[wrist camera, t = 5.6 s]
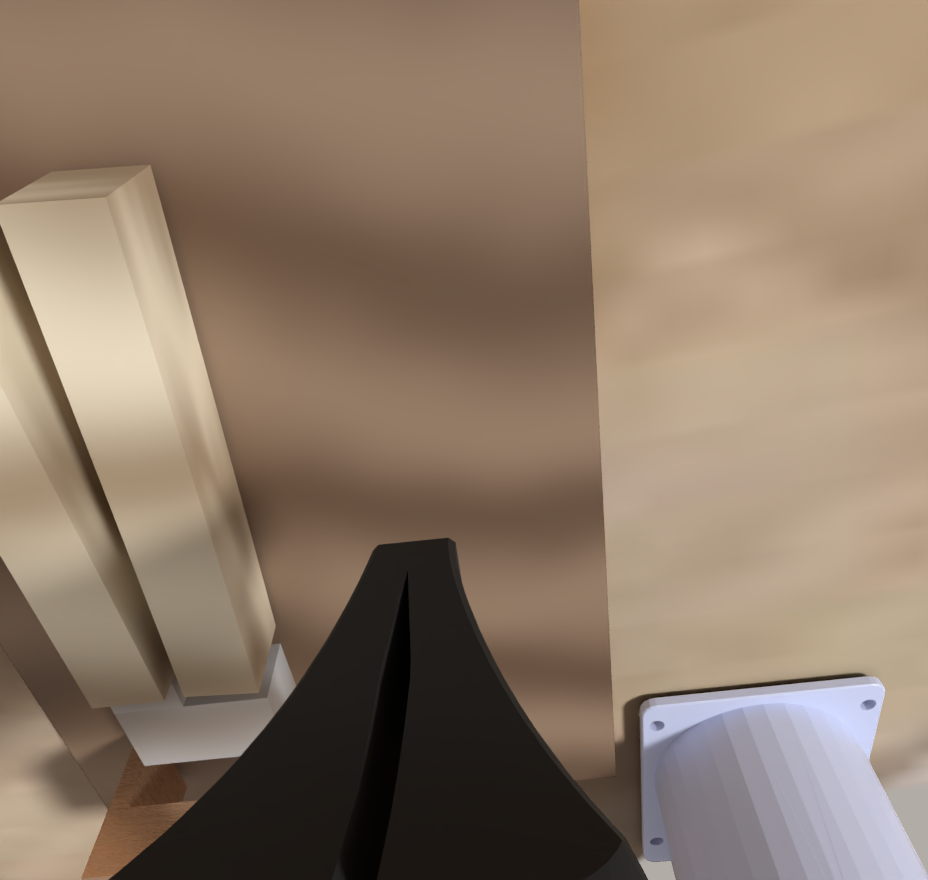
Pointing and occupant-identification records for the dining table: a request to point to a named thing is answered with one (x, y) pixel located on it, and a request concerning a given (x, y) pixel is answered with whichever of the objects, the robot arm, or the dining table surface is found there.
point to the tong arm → (146, 413)
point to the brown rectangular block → (137, 815)
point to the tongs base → (321, 344)
